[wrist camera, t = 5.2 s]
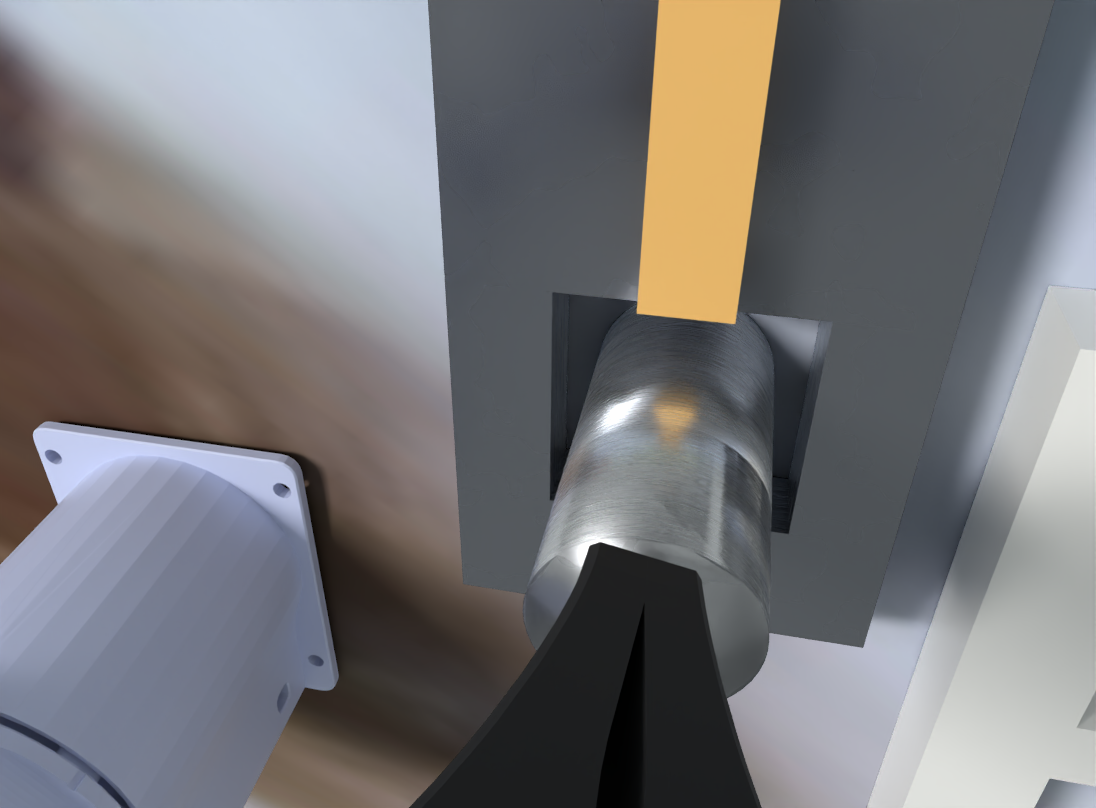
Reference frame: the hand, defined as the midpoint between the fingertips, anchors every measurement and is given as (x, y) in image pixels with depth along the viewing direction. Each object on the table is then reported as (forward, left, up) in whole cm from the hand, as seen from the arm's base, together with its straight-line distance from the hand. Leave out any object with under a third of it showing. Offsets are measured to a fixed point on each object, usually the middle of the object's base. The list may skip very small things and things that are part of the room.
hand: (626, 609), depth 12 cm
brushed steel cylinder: (-3, 0, -10) cm, 11 cm away
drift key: (+4, 0, -8) cm, 9 cm away
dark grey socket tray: (0, 0, -10) cm, 10 cm away
